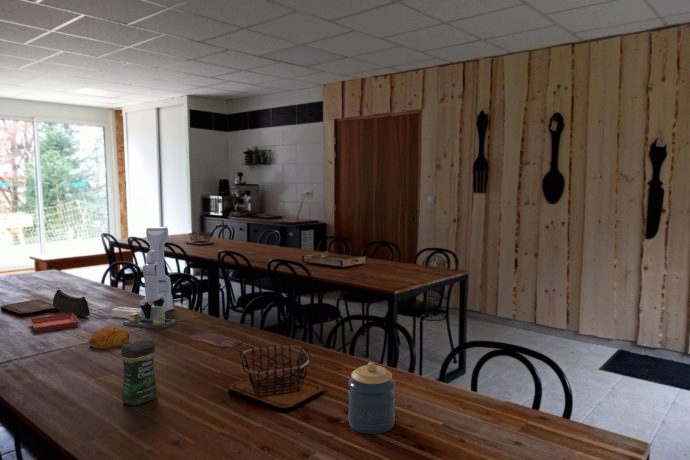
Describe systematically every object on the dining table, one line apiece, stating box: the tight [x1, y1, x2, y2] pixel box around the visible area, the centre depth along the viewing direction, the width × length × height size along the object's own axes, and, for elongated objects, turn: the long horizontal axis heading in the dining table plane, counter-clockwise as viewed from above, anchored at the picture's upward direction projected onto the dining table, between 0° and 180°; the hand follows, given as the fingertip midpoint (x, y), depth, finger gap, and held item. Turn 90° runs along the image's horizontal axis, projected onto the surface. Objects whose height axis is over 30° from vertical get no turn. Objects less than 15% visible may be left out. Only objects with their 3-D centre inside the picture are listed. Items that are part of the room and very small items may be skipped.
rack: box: [122, 316, 176, 330], centre depth 233 cm, size 10×22×2 cm, turn 71°
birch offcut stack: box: [127, 313, 140, 323], centre depth 233 cm, size 4×4×5 cm
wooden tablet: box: [189, 331, 243, 349], centre depth 210 cm, size 26×2×10 cm
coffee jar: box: [120, 338, 158, 406], centre depth 152 cm, size 10×8×19 cm
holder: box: [110, 306, 141, 320], centre depth 246 cm, size 6×16×4 cm, turn 71°
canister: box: [347, 361, 396, 435], centre depth 137 cm, size 13×13×18 cm
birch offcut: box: [153, 315, 164, 323], centre depth 229 cm, size 3×3×2 cm
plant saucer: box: [29, 313, 80, 333], centre depth 231 cm, size 18×18×3 cm
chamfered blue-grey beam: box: [140, 305, 166, 321], centre depth 235 cm, size 2×12×8 cm, turn 71°
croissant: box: [87, 325, 131, 350], centre depth 205 cm, size 14×16×8 cm
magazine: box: [52, 289, 91, 318], centre depth 251 cm, size 17×3×30 cm
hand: (152, 316), depth 235 cm, fingers open, 6 cm apart
